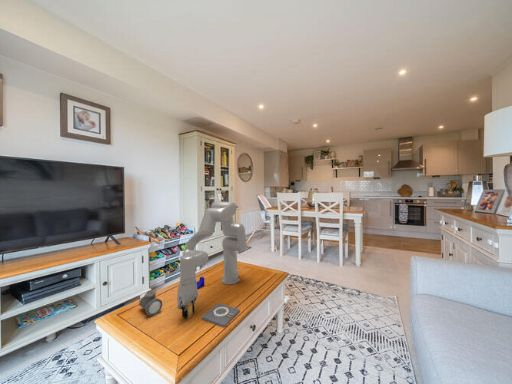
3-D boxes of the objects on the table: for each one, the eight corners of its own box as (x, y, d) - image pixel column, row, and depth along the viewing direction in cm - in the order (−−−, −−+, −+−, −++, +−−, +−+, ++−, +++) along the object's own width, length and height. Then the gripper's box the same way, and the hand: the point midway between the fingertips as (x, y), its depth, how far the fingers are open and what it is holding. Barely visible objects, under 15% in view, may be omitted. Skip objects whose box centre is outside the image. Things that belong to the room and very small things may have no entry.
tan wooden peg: (188, 312, 106) (188, 298, 106) (194, 314, 105) (193, 300, 104) (182, 316, 103) (182, 302, 103) (188, 319, 101) (188, 304, 101)
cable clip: (200, 284, 139) (200, 275, 138) (204, 286, 136) (204, 277, 136) (185, 291, 129) (185, 282, 129) (189, 293, 126) (189, 284, 126)
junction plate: (218, 304, 113) (218, 301, 113) (239, 311, 107) (239, 307, 107) (201, 319, 101) (201, 315, 101) (224, 327, 95) (224, 323, 95)
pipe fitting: (163, 311, 107) (162, 292, 107) (147, 319, 101) (147, 299, 101) (152, 304, 115) (151, 286, 114) (136, 311, 108) (136, 292, 108)
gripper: (194, 271, 113) (194, 304, 113) (169, 284, 98) (169, 322, 98) (204, 274, 109) (204, 307, 110) (180, 288, 94) (181, 326, 95)
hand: (188, 314), depth 104 cm, fingers closed on tan wooden peg, 4 cm apart
